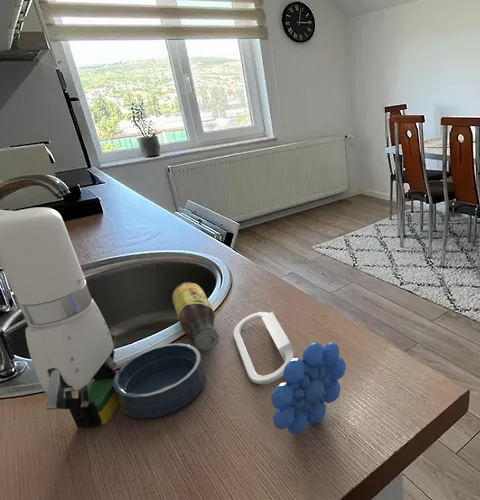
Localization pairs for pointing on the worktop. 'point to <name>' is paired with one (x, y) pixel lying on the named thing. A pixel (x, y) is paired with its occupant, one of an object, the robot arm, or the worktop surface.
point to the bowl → (159, 380)
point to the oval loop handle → (279, 339)
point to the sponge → (103, 398)
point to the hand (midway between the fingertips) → (101, 407)
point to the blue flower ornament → (308, 387)
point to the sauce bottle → (195, 315)
